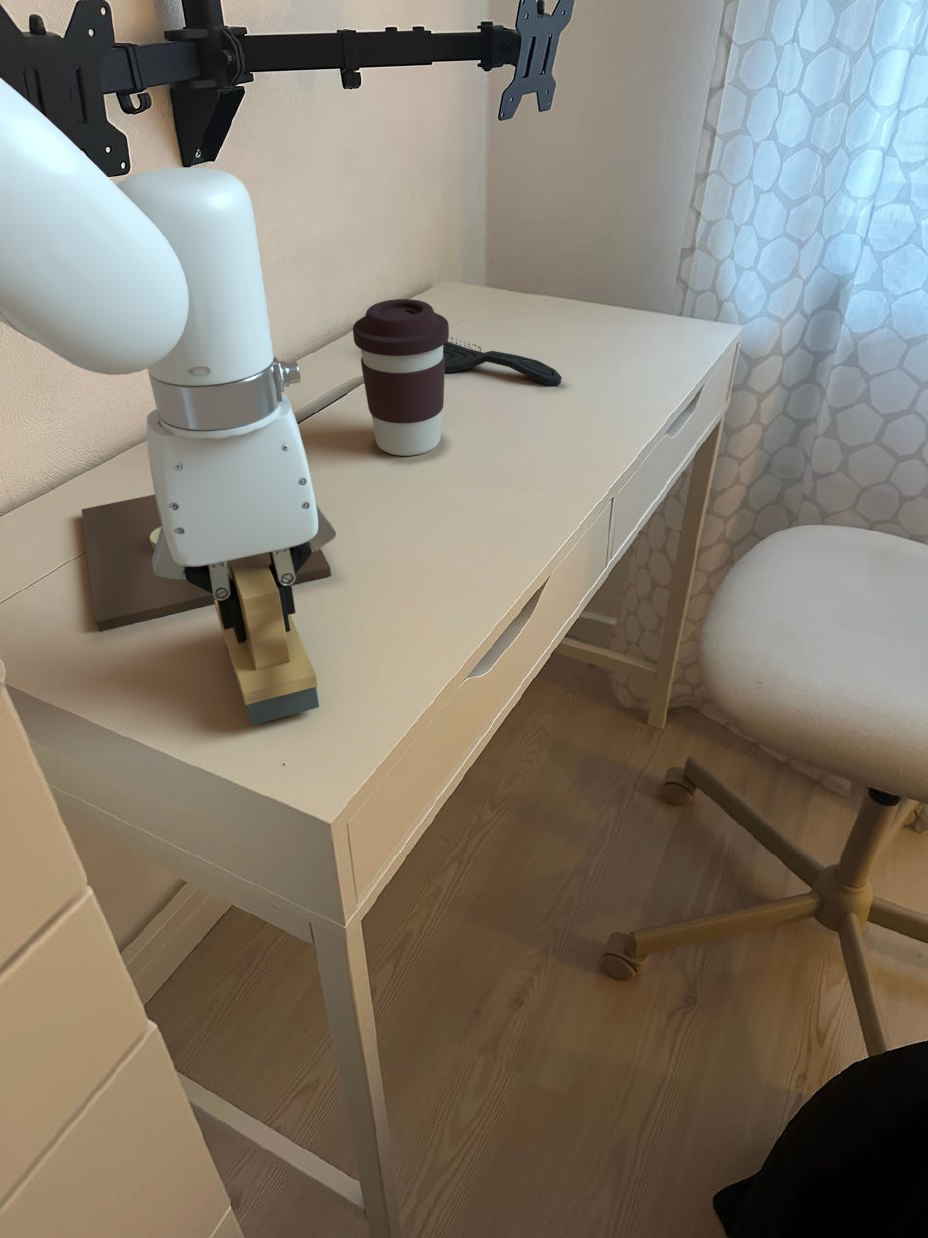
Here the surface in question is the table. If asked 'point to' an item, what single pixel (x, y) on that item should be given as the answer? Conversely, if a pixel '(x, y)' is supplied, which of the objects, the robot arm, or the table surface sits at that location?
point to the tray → (145, 566)
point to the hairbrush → (497, 362)
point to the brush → (267, 648)
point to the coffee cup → (403, 373)
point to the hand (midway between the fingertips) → (260, 625)
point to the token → (154, 537)
